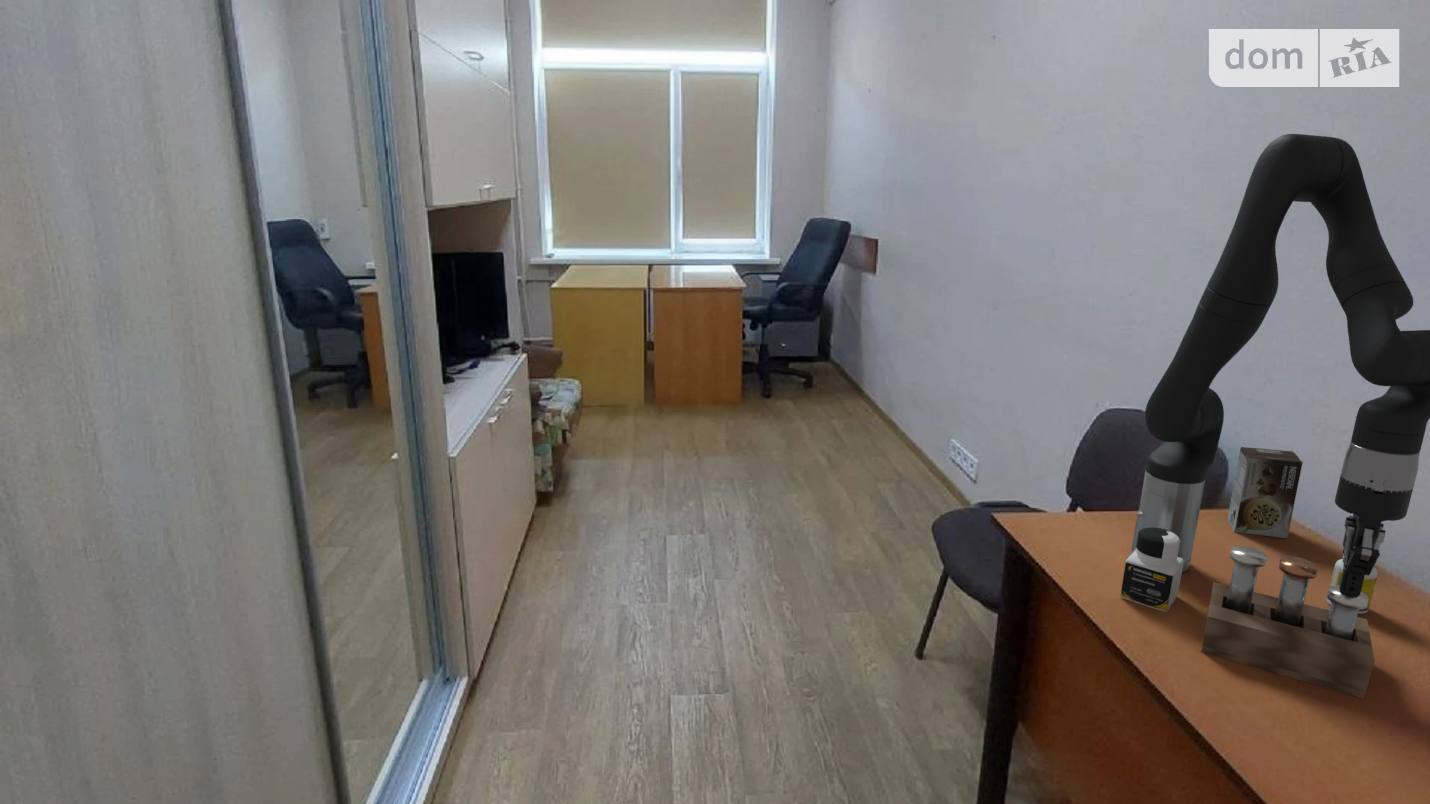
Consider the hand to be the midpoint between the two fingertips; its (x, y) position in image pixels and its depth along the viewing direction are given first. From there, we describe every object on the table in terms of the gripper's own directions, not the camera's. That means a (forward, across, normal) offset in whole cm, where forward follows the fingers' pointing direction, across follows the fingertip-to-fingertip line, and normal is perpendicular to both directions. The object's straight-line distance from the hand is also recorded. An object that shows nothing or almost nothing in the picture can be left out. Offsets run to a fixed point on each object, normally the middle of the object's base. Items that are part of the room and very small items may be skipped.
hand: (1348, 593), depth 108 cm
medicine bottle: (+12, -7, -24) cm, 28 cm away
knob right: (+10, 0, 0) cm, 10 cm away
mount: (+12, 0, -6) cm, 13 cm away
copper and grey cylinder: (+7, 0, -6) cm, 10 cm away
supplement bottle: (+12, -22, +3) cm, 25 cm away
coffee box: (+12, -48, -10) cm, 51 cm away
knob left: (+7, 0, -12) cm, 14 cm away
